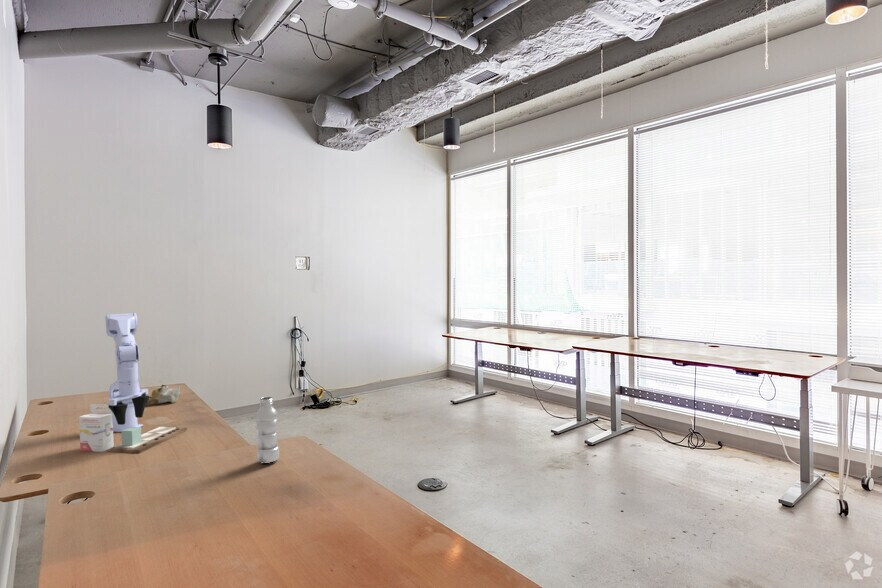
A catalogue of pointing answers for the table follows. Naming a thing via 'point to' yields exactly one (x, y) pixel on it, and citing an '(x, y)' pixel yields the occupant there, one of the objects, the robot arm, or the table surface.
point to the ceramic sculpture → (164, 395)
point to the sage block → (131, 436)
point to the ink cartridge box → (96, 429)
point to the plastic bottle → (267, 431)
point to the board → (150, 439)
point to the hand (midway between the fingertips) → (130, 420)
